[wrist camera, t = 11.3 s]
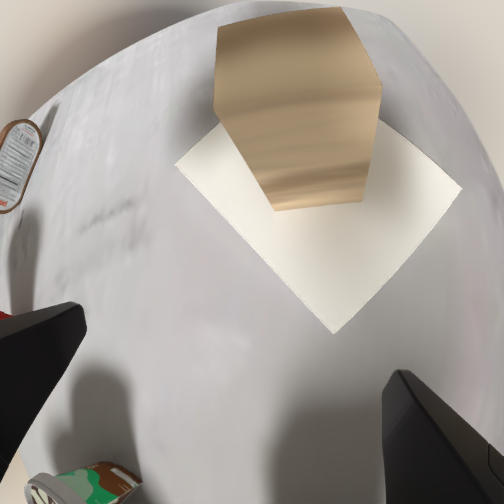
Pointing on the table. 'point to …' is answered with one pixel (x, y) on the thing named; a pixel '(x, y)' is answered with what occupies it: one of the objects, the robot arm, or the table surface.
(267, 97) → the wooden block
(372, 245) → the cutting board
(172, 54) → the table surface
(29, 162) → the tin
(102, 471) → the food container
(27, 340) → the robot arm
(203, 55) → the table surface
